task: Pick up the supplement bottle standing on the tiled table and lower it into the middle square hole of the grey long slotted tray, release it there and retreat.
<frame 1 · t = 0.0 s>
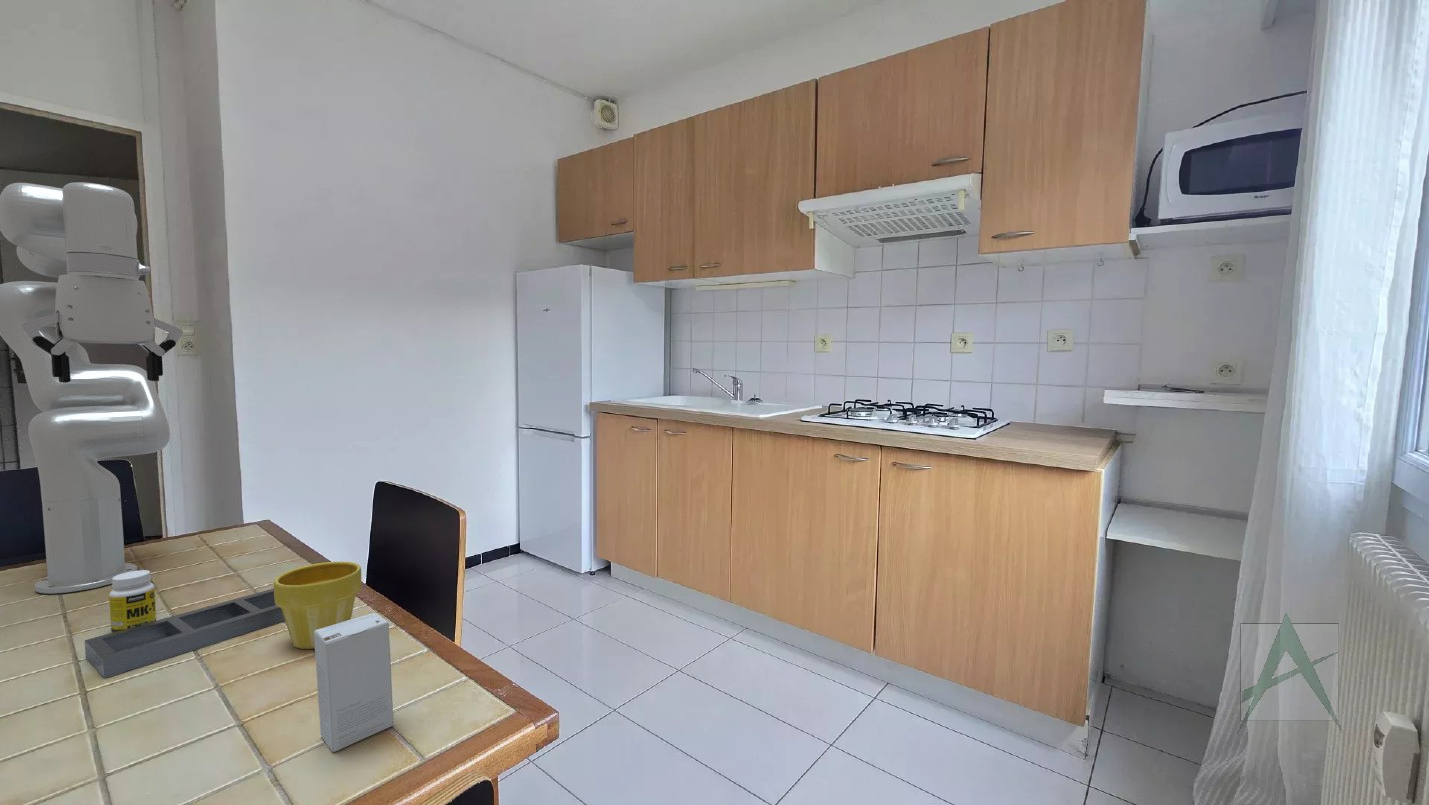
hand: (111, 381, 89), 37 cm above the table, tool pointing down, fingers open, 9 cm apart
plant pot: (321, 639, 84), on the table
supplement bottle: (134, 631, 86), on the table
skincare box: (356, 735, 62), on the table
grey long slotted tray: (216, 630, 86), on the table
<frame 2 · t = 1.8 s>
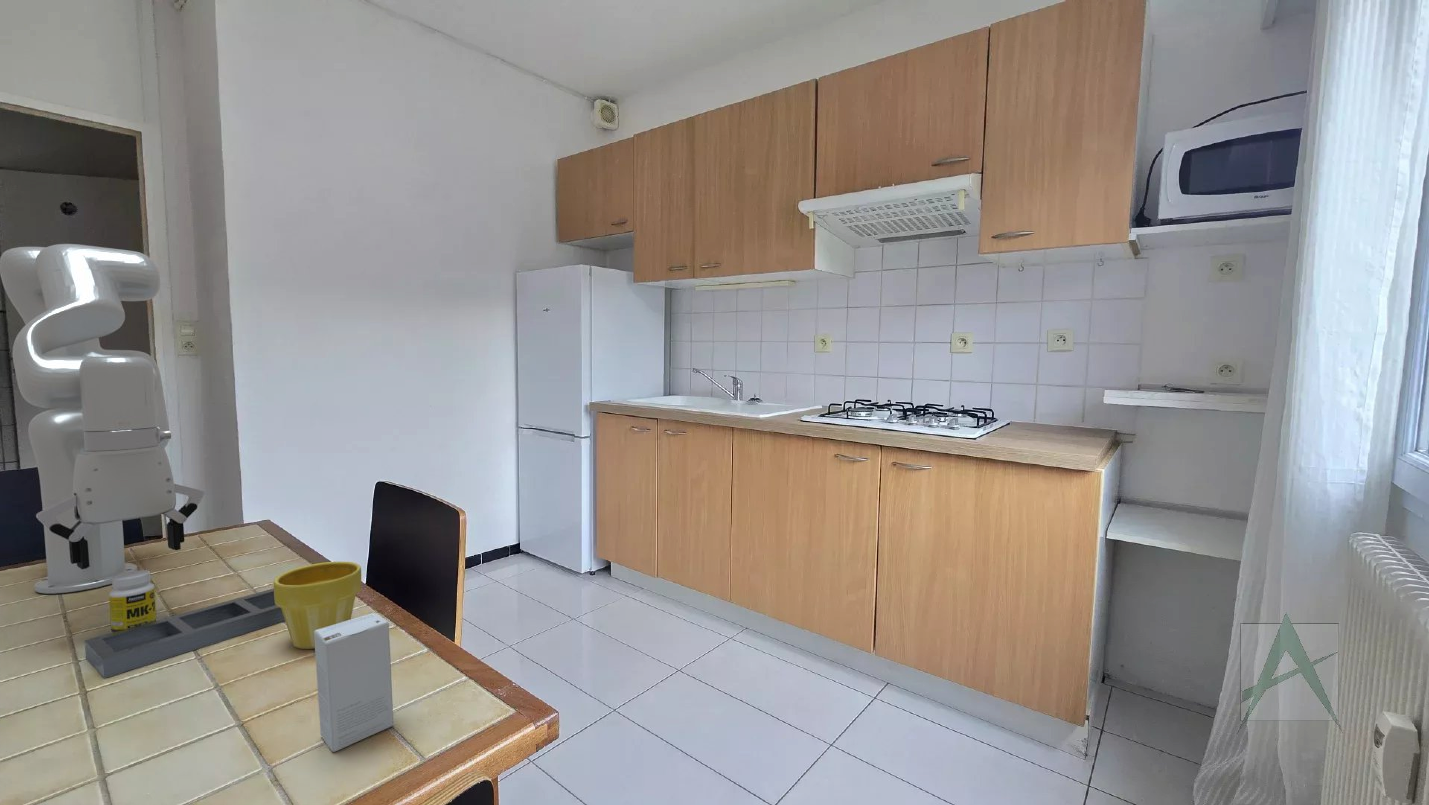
hand: (131, 557, 85), 11 cm above the table, tool pointing down, fingers open, 9 cm apart
nothing on the table moved.
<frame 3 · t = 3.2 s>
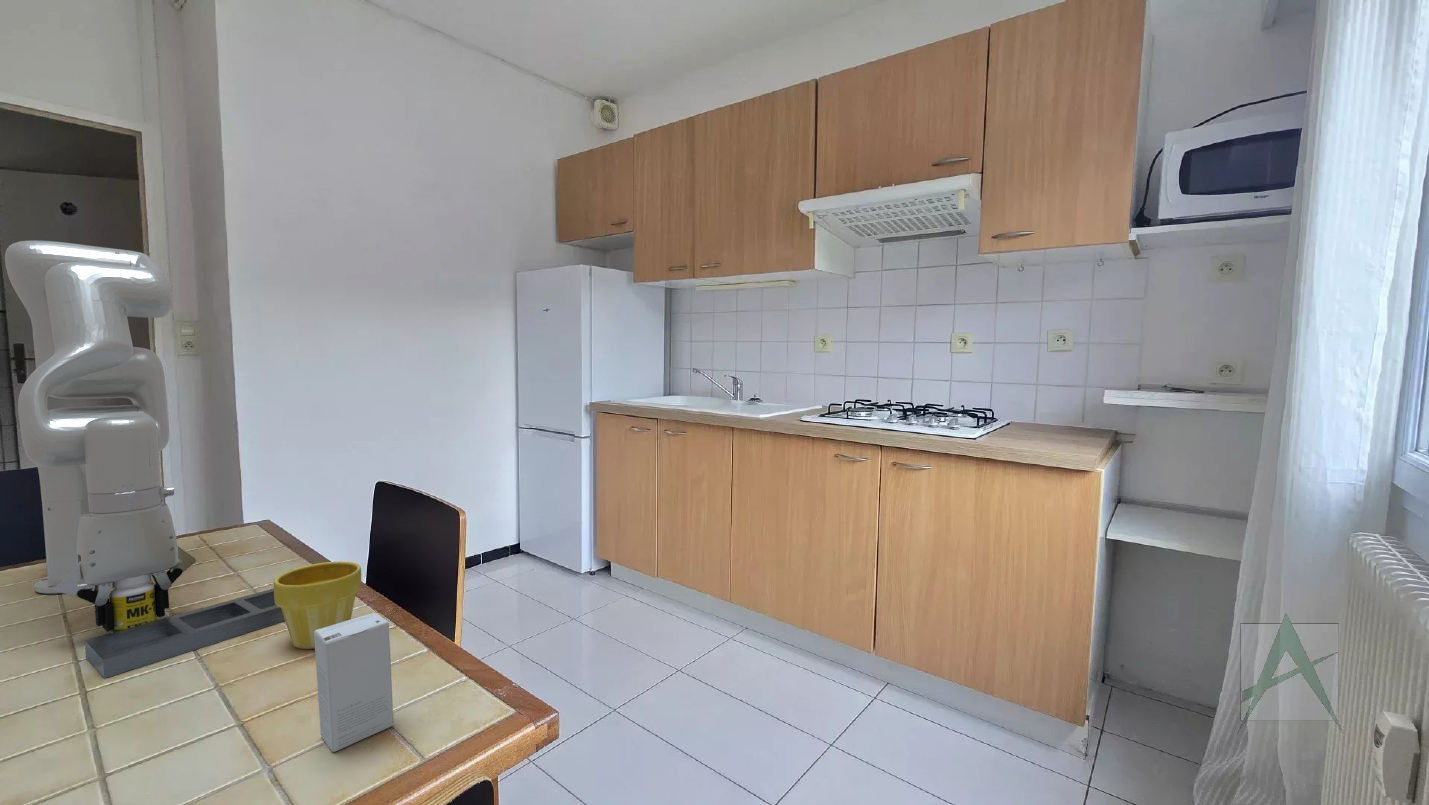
hand: (134, 620, 86), 1 cm above the table, tool pointing down, fingers closed on supplement bottle, 4 cm apart
supplement bottle: (134, 630, 86), on the table, touching gripper
everything else where it was.
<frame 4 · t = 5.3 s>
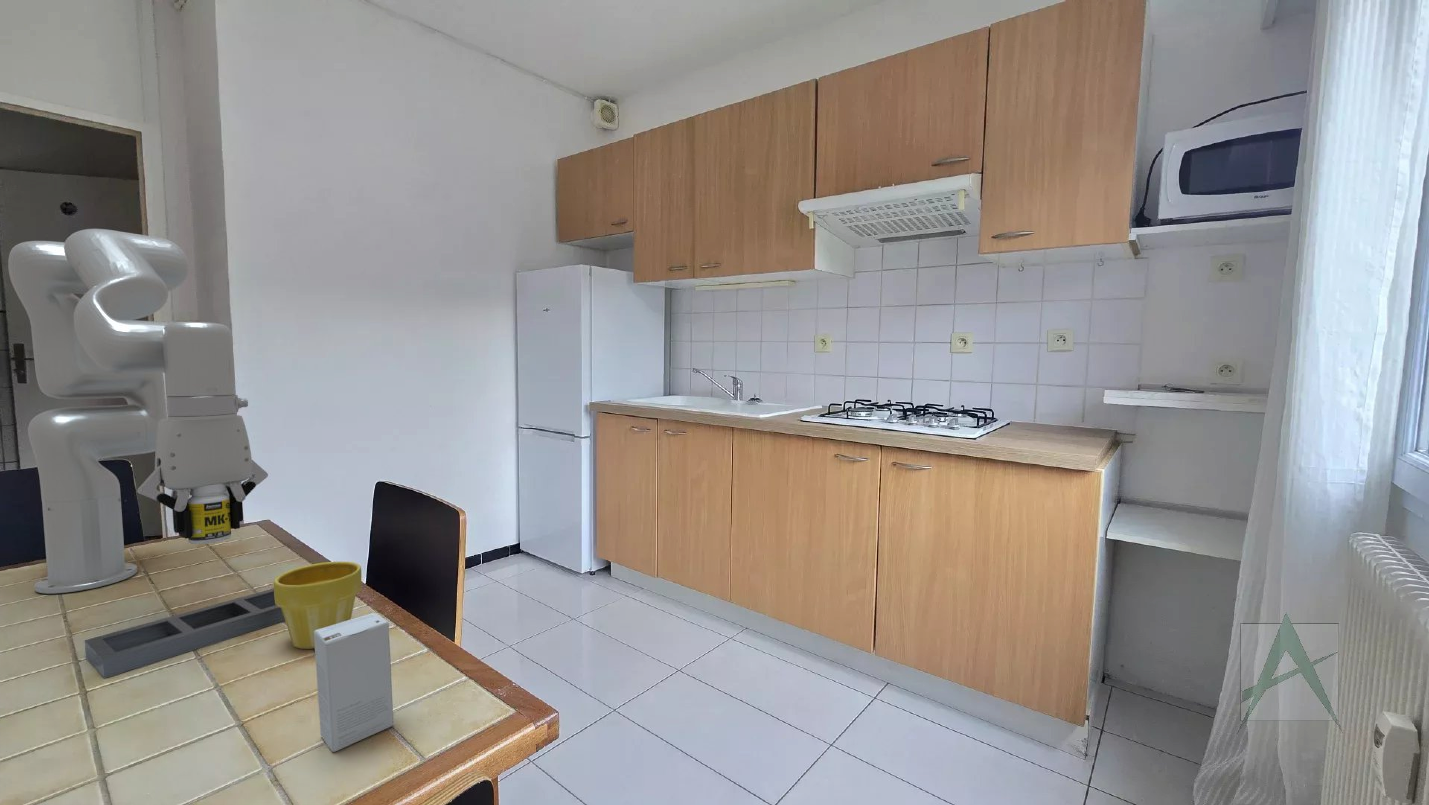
hand: (209, 530, 85), 15 cm above the table, tool pointing down, fingers closed on supplement bottle, 4 cm apart
supplement bottle: (210, 541, 85), point 14 cm above the table, touching gripper
everything else where it was.
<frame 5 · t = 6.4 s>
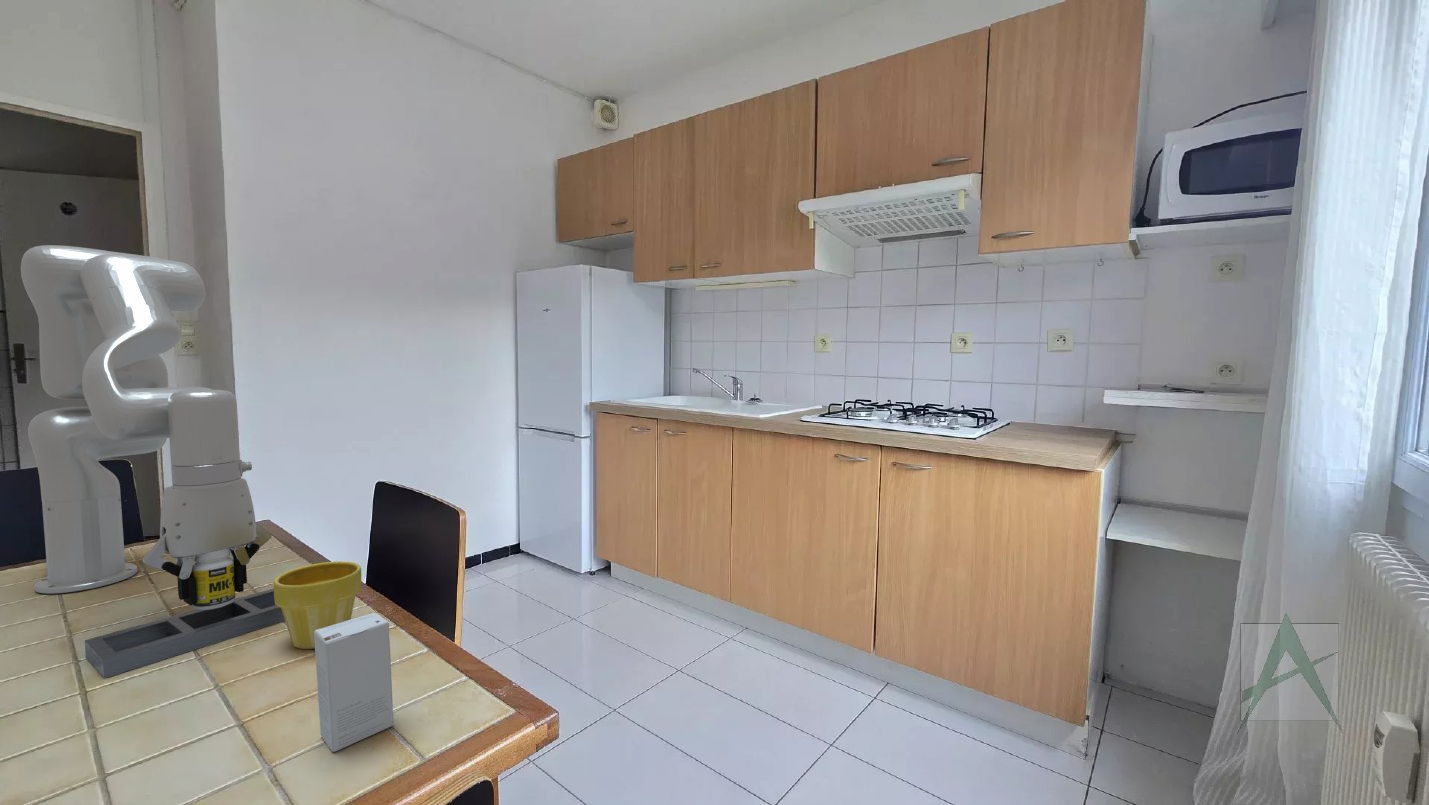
hand: (214, 595, 85), 5 cm above the table, tool pointing down, fingers closed on supplement bottle, 4 cm apart
supplement bottle: (215, 605, 85), point 4 cm above the table, touching gripper
everything else where it was.
when the fingers open (3 cm above the table, at t = 7.2 s): supplement bottle drops 1 cm, resting in grey long slotted tray.
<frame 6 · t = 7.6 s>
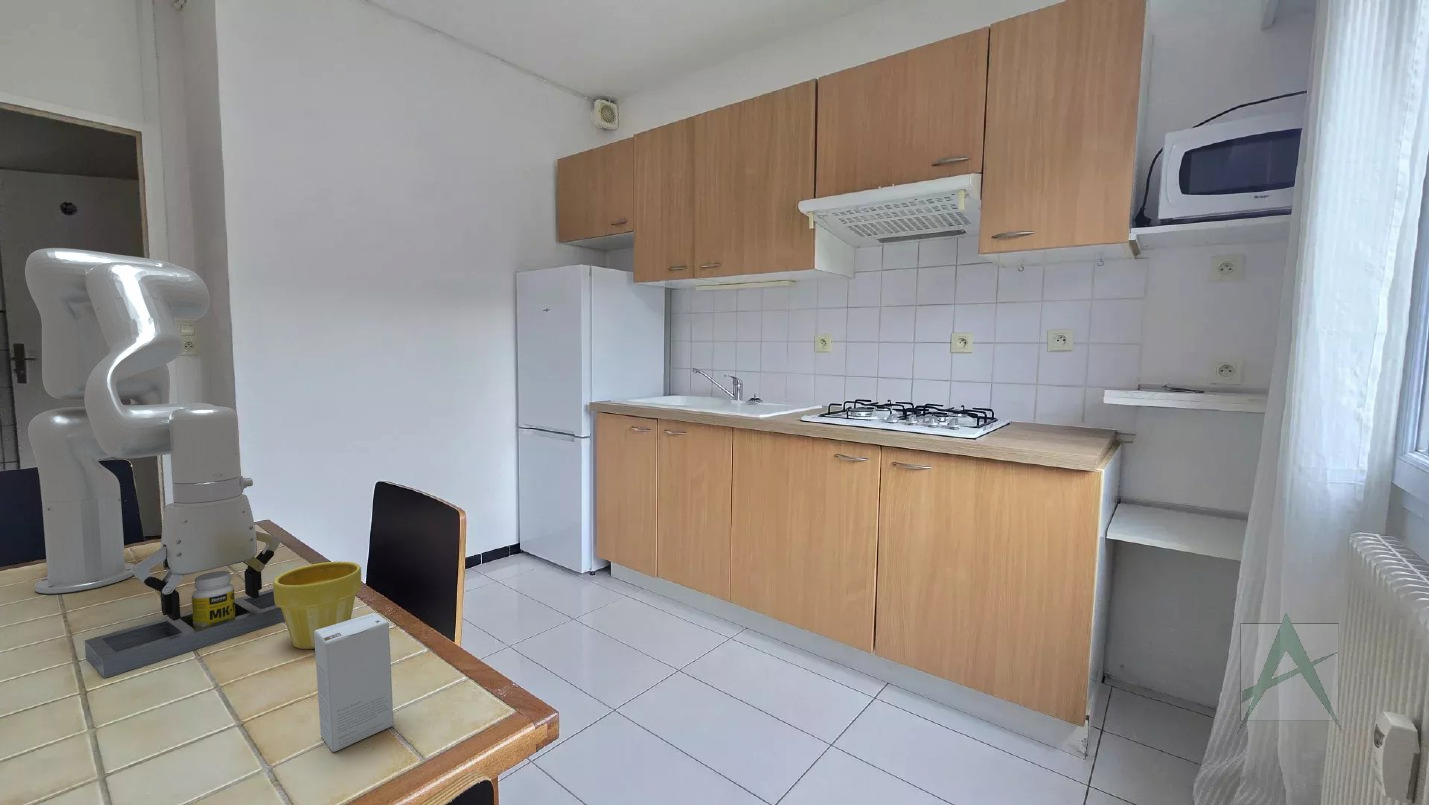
hand: (214, 606, 85), 4 cm above the table, tool pointing down, fingers open, 8 cm apart
supplement bottle: (215, 632, 86), resting in grey long slotted tray
everything else where it was.
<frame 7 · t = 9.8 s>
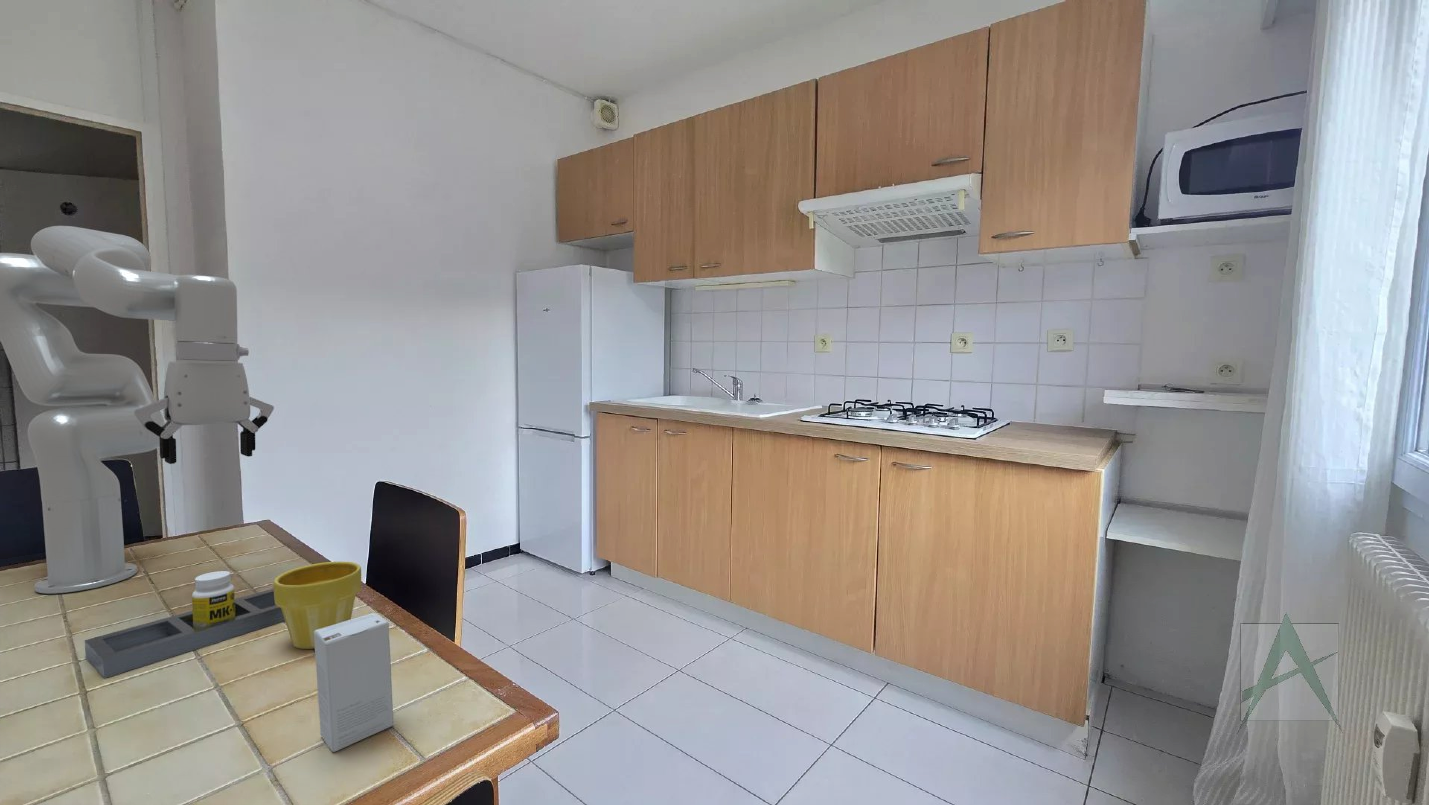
hand: (210, 458, 94), 24 cm above the table, tool pointing down, fingers open, 9 cm apart
nothing on the table moved.
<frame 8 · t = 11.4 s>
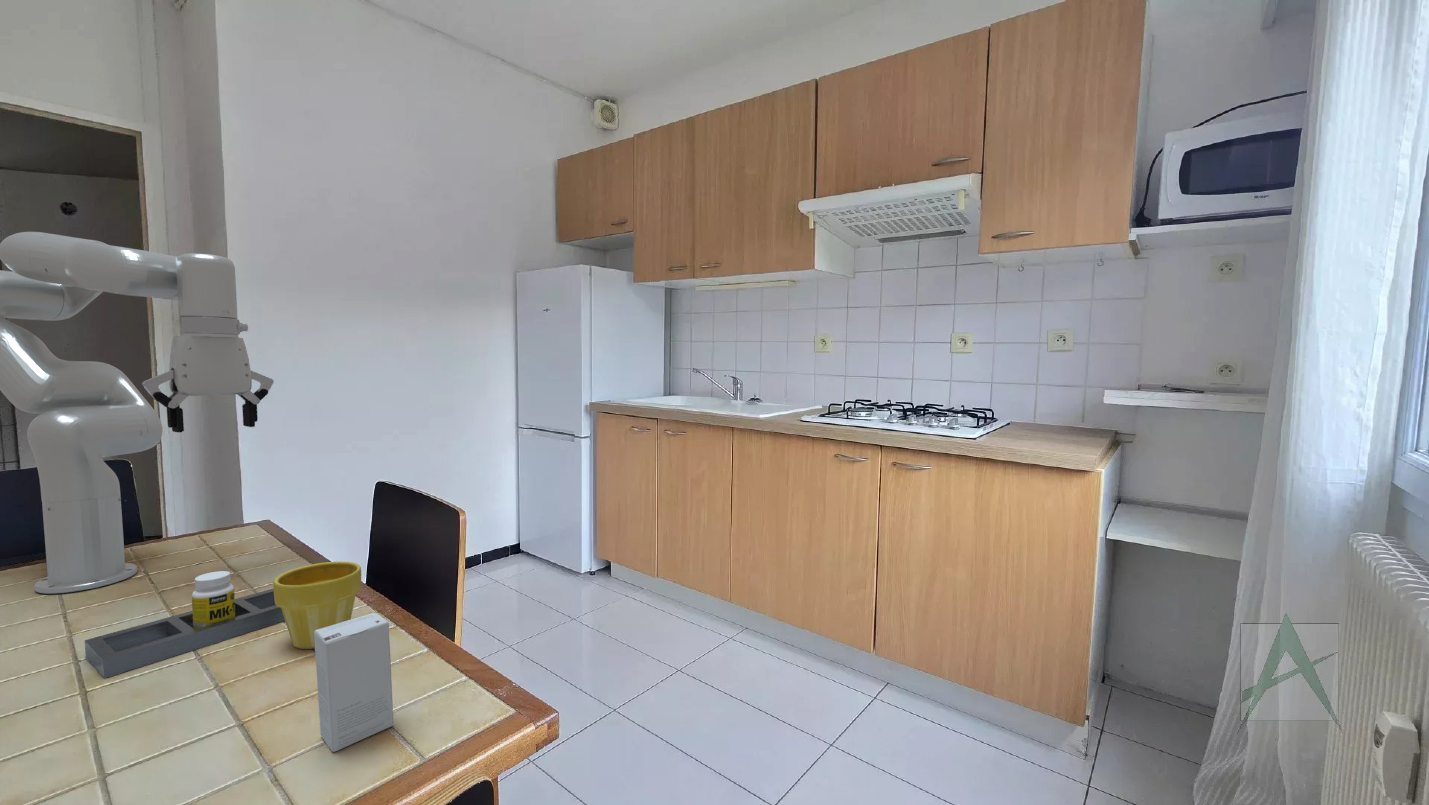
hand: (215, 429, 99), 28 cm above the table, tool pointing down, fingers open, 9 cm apart
nothing on the table moved.
at the end: supplement bottle 0.2 cm off-centre on the grey long slotted tray, point 0.0 cm above the grey long slotted tray's base; supplement bottle tilted 0°; the gripper is holding nothing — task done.
